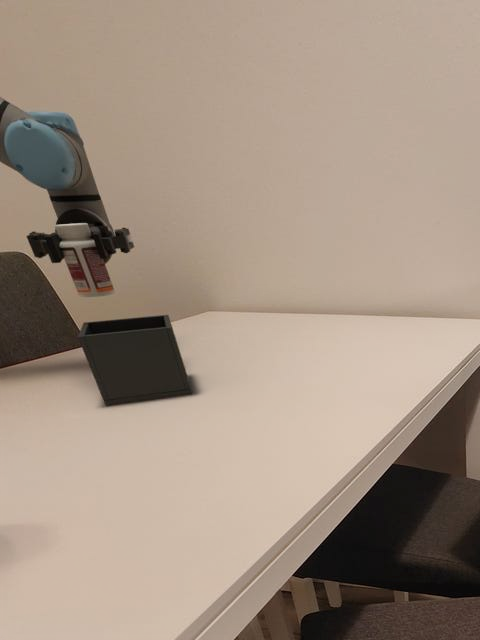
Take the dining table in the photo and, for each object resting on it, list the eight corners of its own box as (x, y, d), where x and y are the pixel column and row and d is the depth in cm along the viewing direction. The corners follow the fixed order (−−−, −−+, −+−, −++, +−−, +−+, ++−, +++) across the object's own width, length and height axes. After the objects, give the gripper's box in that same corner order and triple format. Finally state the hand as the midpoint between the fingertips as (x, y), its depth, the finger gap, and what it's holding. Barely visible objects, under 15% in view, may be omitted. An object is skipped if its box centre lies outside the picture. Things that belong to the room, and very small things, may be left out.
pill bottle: (115, 291, 87) (91, 222, 82) (115, 295, 84) (90, 223, 78) (79, 294, 85) (52, 224, 80) (78, 298, 82) (49, 225, 77)
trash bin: (106, 408, 81) (77, 336, 76) (109, 388, 90) (83, 322, 84) (193, 396, 85) (171, 327, 80) (188, 378, 93) (168, 314, 88)
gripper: (154, 261, 99) (159, 275, 82) (33, 269, 93) (12, 286, 76) (137, 206, 94) (139, 209, 78) (9, 211, 88) (-19, 215, 72)
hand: (76, 247), depth 77 cm, fingers closed on pill bottle, 5 cm apart
